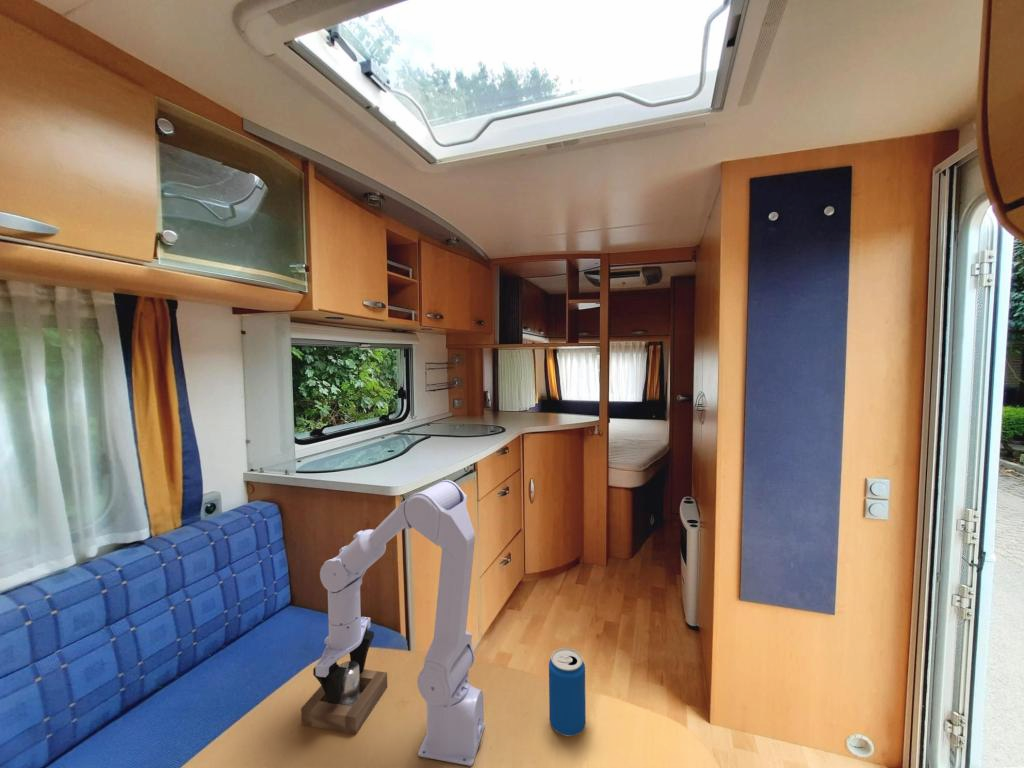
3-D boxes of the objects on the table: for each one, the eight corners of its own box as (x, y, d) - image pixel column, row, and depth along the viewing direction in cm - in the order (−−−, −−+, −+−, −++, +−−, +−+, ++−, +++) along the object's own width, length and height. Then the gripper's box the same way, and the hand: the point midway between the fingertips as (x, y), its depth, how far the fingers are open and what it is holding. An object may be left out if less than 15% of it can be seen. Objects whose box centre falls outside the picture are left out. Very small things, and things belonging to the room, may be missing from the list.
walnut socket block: (387, 687, 82) (387, 672, 82) (356, 734, 71) (355, 717, 71) (339, 679, 84) (338, 665, 84) (301, 724, 73) (301, 708, 73)
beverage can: (585, 742, 69) (584, 673, 68) (547, 736, 70) (546, 668, 70) (586, 711, 75) (585, 648, 75) (551, 706, 76) (550, 644, 76)
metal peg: (364, 696, 79) (363, 661, 79) (352, 715, 75) (351, 678, 75) (343, 694, 80) (342, 660, 80) (330, 713, 76) (329, 676, 75)
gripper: (348, 594, 85) (350, 657, 85) (299, 638, 71) (301, 714, 71) (379, 597, 84) (380, 661, 84) (335, 643, 69) (337, 720, 70)
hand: (346, 686), depth 77 cm, fingers open, 7 cm apart
